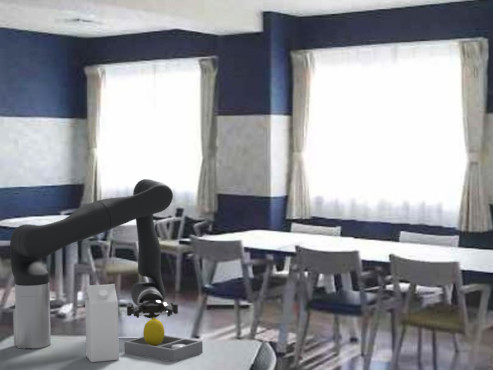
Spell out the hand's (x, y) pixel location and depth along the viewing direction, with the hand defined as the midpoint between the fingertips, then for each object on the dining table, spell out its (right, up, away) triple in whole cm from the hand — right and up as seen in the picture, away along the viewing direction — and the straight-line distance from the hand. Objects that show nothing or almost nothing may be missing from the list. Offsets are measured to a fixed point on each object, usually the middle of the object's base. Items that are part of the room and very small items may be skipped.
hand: (153, 313), depth 228 cm
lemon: (+1, -8, -8) cm, 12 cm away
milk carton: (-11, -9, -15) cm, 21 cm away
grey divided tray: (+4, -9, -10) cm, 14 cm away
